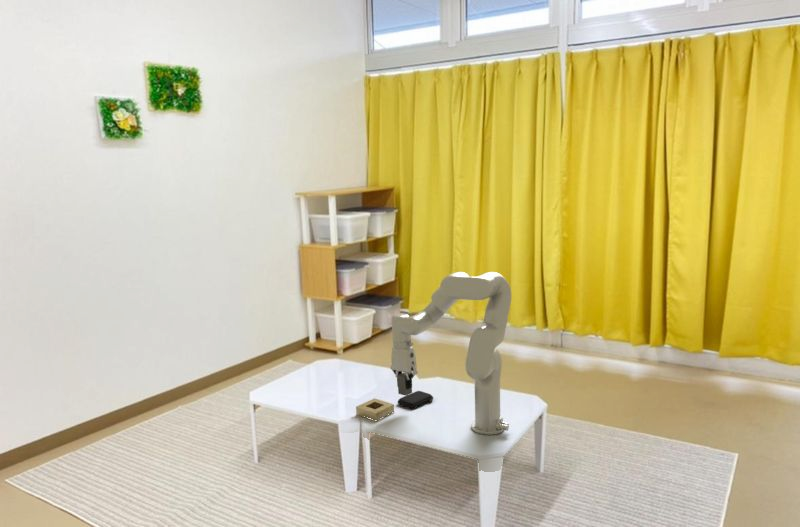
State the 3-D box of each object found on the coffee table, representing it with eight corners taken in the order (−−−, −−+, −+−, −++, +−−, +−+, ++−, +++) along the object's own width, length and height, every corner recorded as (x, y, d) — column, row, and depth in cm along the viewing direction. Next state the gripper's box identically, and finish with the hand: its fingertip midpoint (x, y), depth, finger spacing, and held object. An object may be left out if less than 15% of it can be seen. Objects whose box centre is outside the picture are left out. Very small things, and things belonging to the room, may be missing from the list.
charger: (412, 392, 229) (410, 373, 228) (405, 395, 226) (404, 376, 225) (404, 390, 231) (403, 371, 230) (398, 393, 228) (397, 374, 227)
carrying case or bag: (414, 412, 230) (437, 401, 240) (413, 405, 229) (436, 394, 240) (395, 405, 237) (418, 395, 247) (395, 398, 237) (418, 388, 247)
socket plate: (394, 412, 229) (393, 404, 229) (375, 421, 221) (375, 413, 220) (374, 406, 236) (374, 398, 236) (356, 414, 228) (356, 406, 227)
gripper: (424, 344, 223) (426, 388, 225) (392, 339, 234) (395, 380, 236) (412, 349, 217) (414, 394, 220) (380, 343, 228) (383, 386, 231)
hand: (404, 386), depth 228 cm, fingers closed on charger, 4 cm apart
